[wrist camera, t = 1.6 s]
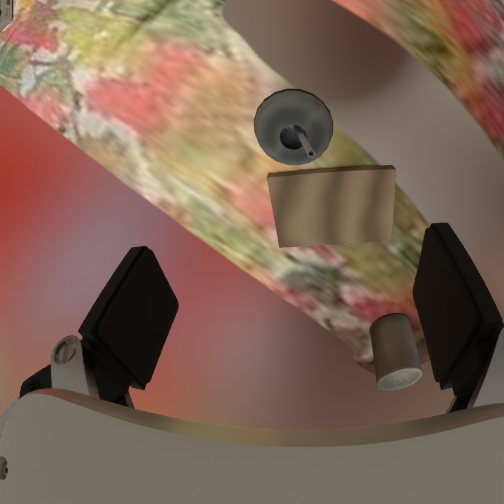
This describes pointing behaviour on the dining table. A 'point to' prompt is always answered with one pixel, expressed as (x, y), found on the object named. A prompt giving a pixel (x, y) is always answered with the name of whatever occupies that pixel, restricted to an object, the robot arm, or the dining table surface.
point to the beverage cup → (293, 126)
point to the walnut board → (333, 205)
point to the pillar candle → (394, 352)
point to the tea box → (5, 13)
